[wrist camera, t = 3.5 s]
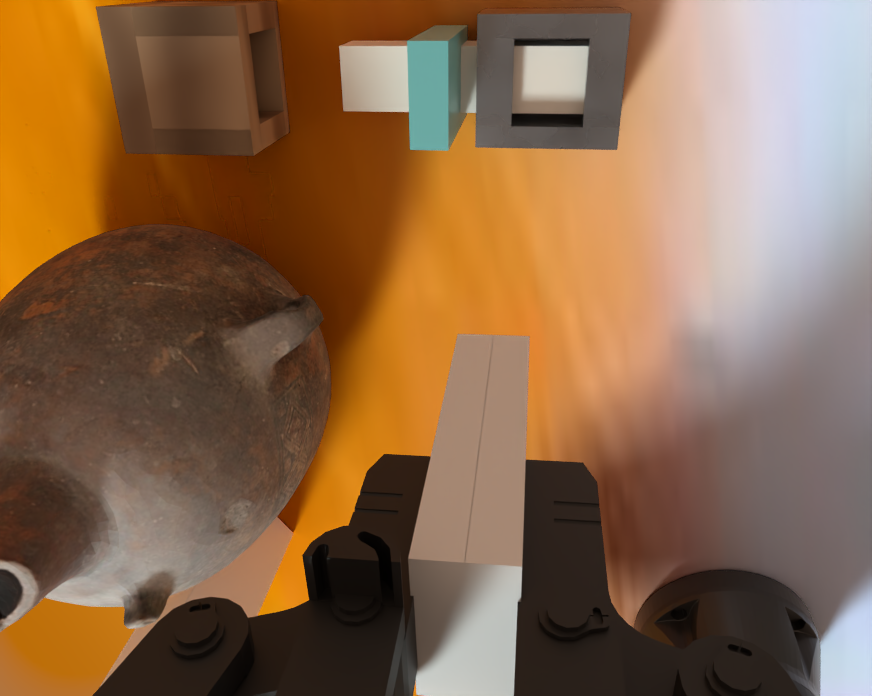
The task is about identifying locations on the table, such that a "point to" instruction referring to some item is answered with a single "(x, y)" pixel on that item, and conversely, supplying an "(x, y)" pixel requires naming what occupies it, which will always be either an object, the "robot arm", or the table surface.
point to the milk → (231, 581)
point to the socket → (196, 76)
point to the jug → (149, 416)
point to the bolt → (455, 80)
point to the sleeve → (601, 85)
